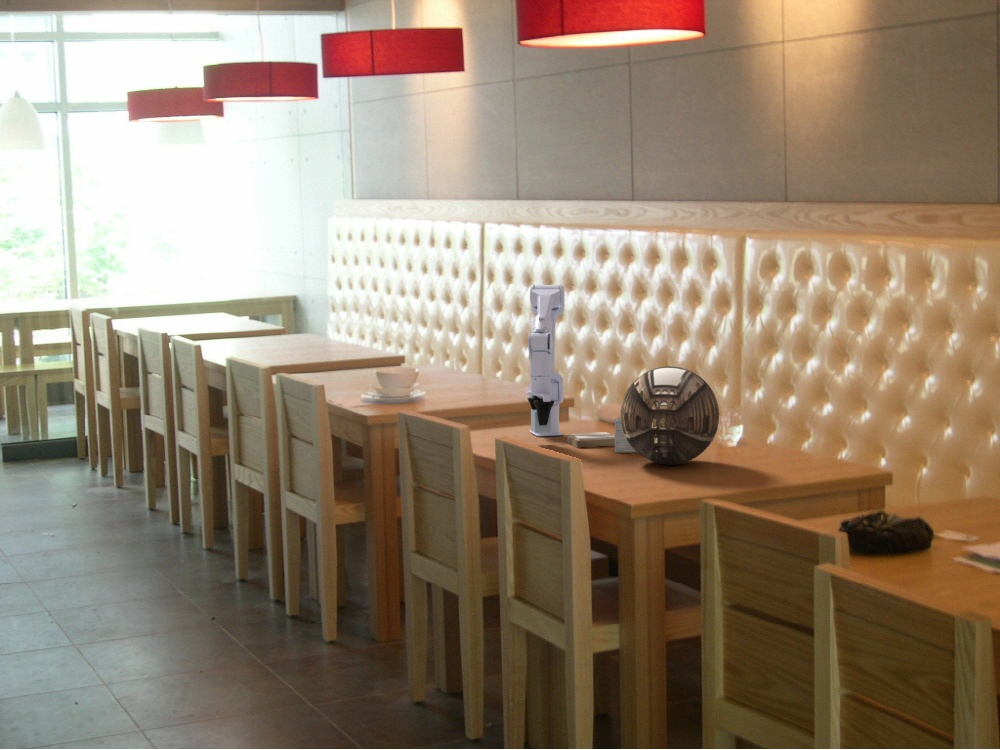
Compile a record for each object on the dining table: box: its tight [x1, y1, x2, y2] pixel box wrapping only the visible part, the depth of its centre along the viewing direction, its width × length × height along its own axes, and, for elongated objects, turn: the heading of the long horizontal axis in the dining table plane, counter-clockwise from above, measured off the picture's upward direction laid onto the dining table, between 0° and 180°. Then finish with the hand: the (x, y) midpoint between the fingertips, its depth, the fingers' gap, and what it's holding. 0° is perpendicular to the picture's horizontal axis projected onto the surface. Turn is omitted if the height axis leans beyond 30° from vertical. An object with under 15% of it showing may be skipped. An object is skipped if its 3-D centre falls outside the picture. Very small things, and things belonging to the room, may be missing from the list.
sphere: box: [620, 365, 720, 466], centre depth 330 cm, size 25×25×25 cm
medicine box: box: [614, 418, 637, 453], centre depth 350 cm, size 8×4×9 cm, turn 84°
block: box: [530, 408, 551, 433], centre depth 362 cm, size 4×4×6 cm
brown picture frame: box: [567, 431, 615, 449], centre depth 362 cm, size 10×12×2 cm
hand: (540, 423), depth 362 cm, fingers closed on block, 4 cm apart
